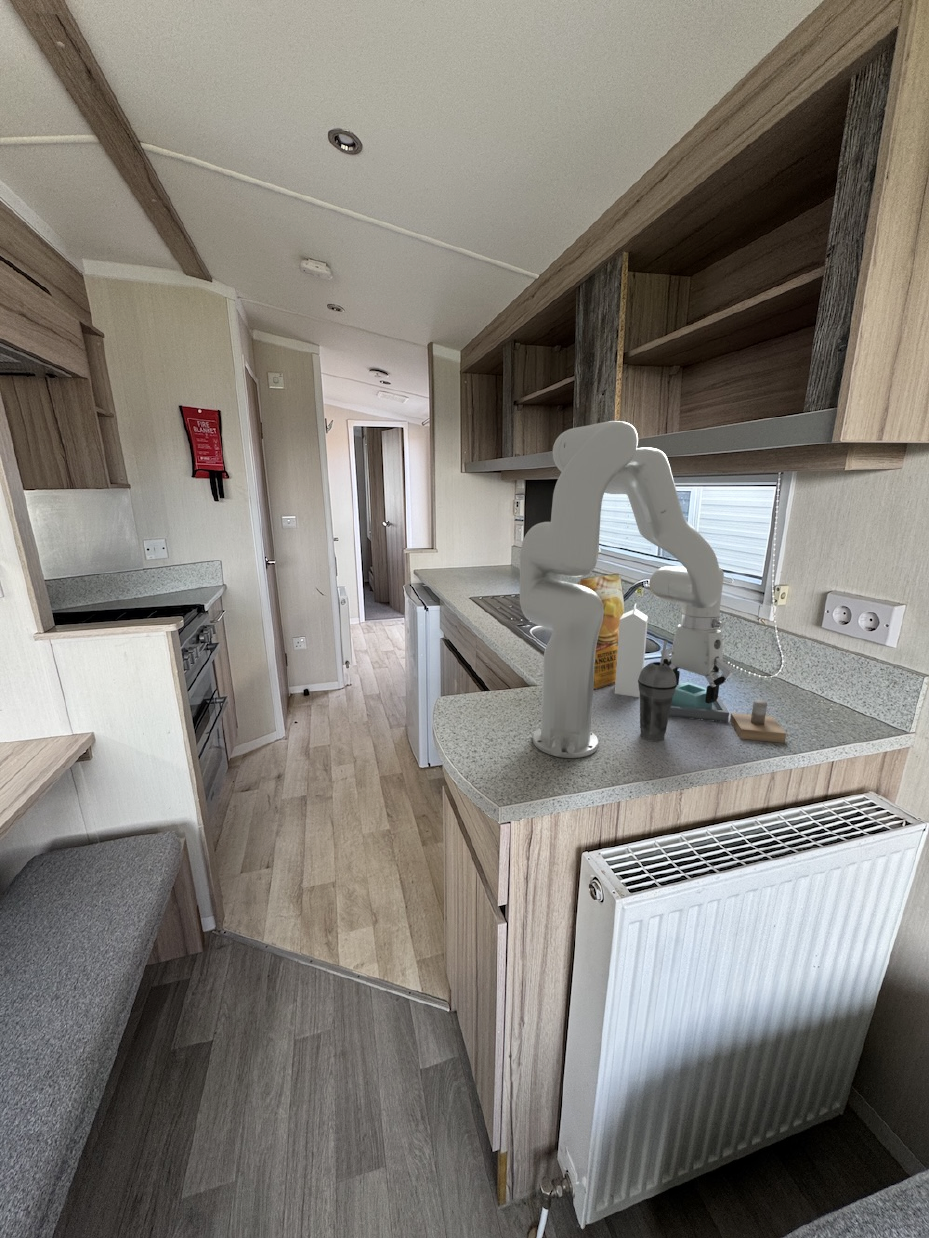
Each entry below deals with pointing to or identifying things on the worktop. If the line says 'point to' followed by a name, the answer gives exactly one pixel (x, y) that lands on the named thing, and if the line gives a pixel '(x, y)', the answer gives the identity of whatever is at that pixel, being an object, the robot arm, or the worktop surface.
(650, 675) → the beverage cup
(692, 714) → the tray
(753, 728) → the wooden peg base
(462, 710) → the worktop surface
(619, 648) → the milk
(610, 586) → the pancake mix bag
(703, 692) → the collar
